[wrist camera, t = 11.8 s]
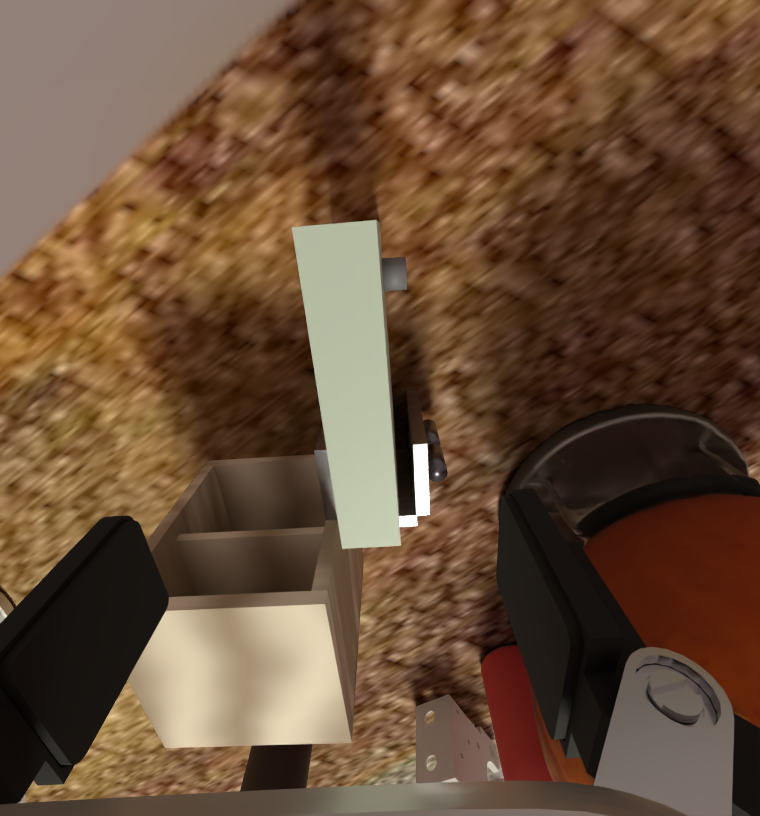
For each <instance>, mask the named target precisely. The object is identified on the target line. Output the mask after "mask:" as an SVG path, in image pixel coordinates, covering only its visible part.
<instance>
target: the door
mask: <svg viewBox="0 0 760 816" xmlns="http://www.w3.org/2000/svg"><path fill="white" fill-rule="evenodd" d="M292 232H293V238H294V244H295V251H296V257H297V264H298V270H299V276H300V283H301V289H302V295H303V302H304V308H305V315H306V321H307V327H308V334H309V340H310V347H311V353H312V359H313V366H314V372H315V378H316V385H317V391H318V398H319V404H320V410H321V417H322V423H323V429H324V436H325V442H326V449H327V455H328V461H329V468H330V474H331V480H332V487H333V493H334V500H335V506H336V512H337V519H338V525H339V532H340V538H341V544H342V549H348V548H367V547H386V546H401V540H400V520H399V501H398V482H397V462H396V443H395V427H394V413H393V399H392V385H391V371H390V357H389V343H388V329H387V315H386V302H385V291H395V290H407V273H406V260H405V257H396V258H384V259H382V246H381V232H380V223H379V222H378V221H377V220H370V221H358V222H347V223H336V224H324V225H313V226H302V227H292Z"/></svg>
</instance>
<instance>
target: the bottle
mask: <svg viewBox="0 0 760 816" xmlns="http://www.w3.org/2000/svg"><path fill="white" fill-rule="evenodd" d="M311 751H312V744H289V745H253V746H252V747H251V751H250V755H249V759H248V763H247V767H246V771H245V774H244V778H243V782H242V786H241V790H240V791H259V790H279V789H300V788H306V787H307V780H308V772H309V765H310V758H311Z"/></svg>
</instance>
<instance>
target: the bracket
mask: <svg viewBox="0 0 760 816" xmlns="http://www.w3.org/2000/svg"><path fill="white" fill-rule="evenodd" d="M430 712H434V713H435V719H434V721H433V722H432V723H431V724H427V723H426V716H427V715H428V713H430ZM432 756H434V757H436V759H437V765H436V767H435V769H434V770H432V771H428V770H427V767H426V765H427V761H428V759H429V758H430V757H432ZM487 766H488V767H489V768H490V769H491V771H492V772H493V773H495V772H498V771H499V766H498V760H497V754H496V748H495V744H494V743H493V742H492V740H491V739H490V738H489V737H488V735H487V734H486V733H485V731H484V730H483V729H482V728H481V727H480V726H479V727H476V728H475V726H474V725H473V724H472V723H471V721H470V720H469V719H468V718H467V716H466V715H465V714H464V712H463V711H462V710H461V709H460V707H459V706H458V705H457V704H456V702H455V701H454V700H453V699H452V697H451V696H450V695H449V694H448V695H445V696H443V697H440V698H437V699H435V700H432V701H429V702H427V703H424V704H421V705H418V706H416V783H436V782H480V781H488V777H487Z"/></svg>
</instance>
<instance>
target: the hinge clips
mask: <svg viewBox="0 0 760 816" xmlns="http://www.w3.org/2000/svg"><path fill="white" fill-rule="evenodd" d="M406 395H407V414H408V433H409V449H396V462H397V482H398V501H399V520H400V527H403V526H417V515H430V512H429V480H428V478H429V479H430V480H432V481H434V482H440V481H442V480H444V479H445V478H446V477H447V468H446V464H445V460H444V456H443V452H442V449H441V447H440V441H439V437H438V433H437V429H436V425H435V423H434V421H432V420H429V419H427V420H424V421H423V418H422V413H421V408H420V403H419V397H418V392H417V390H407V391H406ZM314 454H315V460H316V466H317V472H318V478H319V483H320V489H321V495H322V501H323V507H324V513H325V519H326V520H338V519H337V512H336V506H335V500H334V493H333V487H332V480H331V474H330V468H329V461H328V455H327V449H326V442H325V436H324V429H323V424H322V427H321V430H320V433H319V436H318V439H317V442H316V446H315V449H314Z"/></svg>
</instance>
